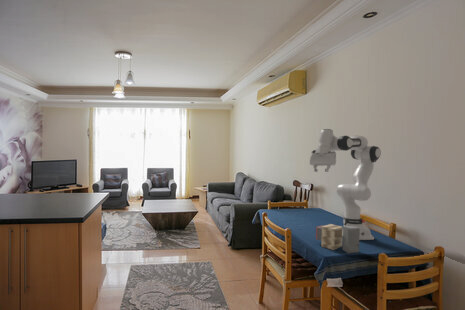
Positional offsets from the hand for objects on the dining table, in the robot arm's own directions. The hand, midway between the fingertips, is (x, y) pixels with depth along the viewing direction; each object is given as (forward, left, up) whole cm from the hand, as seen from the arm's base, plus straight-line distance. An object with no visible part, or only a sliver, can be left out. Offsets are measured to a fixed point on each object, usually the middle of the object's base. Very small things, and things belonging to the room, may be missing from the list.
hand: (321, 171), depth 204 cm
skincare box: (-18, +10, -50) cm, 54 cm away
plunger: (-4, -3, -46) cm, 47 cm away
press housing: (-8, +2, -50) cm, 51 cm away
